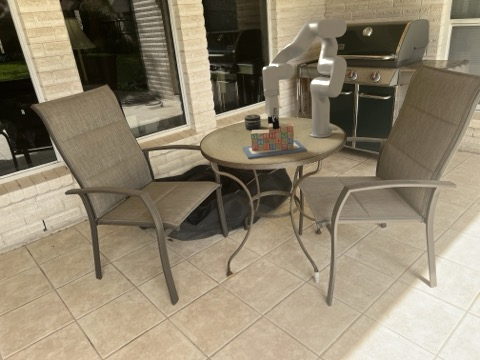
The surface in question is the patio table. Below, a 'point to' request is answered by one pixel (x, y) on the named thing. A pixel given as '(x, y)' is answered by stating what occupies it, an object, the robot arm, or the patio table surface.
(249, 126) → the jar
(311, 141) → the patio table surface
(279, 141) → the stack of blocks
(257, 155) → the board
